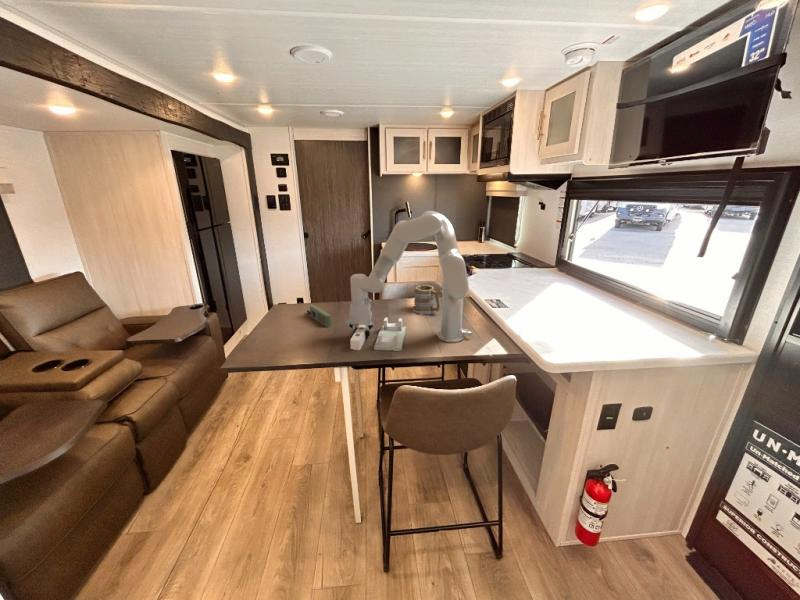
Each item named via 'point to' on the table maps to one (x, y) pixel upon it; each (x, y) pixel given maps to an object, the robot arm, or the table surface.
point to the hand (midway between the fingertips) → (361, 336)
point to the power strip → (358, 337)
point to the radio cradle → (390, 336)
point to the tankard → (426, 300)
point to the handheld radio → (320, 315)
